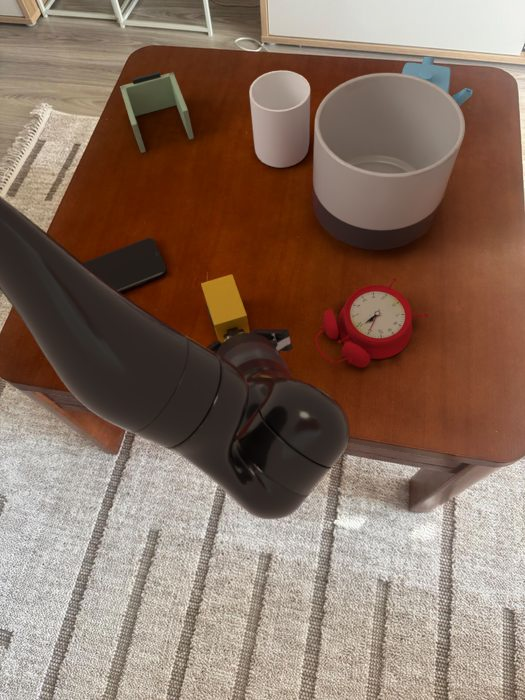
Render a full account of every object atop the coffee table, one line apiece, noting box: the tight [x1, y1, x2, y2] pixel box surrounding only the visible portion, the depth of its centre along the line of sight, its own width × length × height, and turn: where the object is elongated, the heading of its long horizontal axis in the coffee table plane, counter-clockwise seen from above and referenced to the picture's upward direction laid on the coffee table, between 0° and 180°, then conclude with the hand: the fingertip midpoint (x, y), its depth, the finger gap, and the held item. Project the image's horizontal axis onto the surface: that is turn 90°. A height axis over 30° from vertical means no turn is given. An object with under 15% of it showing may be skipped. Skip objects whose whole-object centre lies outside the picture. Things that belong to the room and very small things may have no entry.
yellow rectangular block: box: [200, 274, 251, 343], centre depth 74 cm, size 7×5×7 cm, turn 18°
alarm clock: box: [314, 277, 429, 368], centre depth 73 cm, size 10×6×15 cm
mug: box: [248, 70, 311, 169], centre depth 87 cm, size 10×12×12 cm
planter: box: [311, 72, 466, 251], centre depth 76 cm, size 19×19×18 cm
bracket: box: [119, 71, 195, 154], centre depth 93 cm, size 11×10×7 cm
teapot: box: [400, 56, 474, 107], centre depth 88 cm, size 18×14×10 cm
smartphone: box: [82, 237, 168, 294], centre depth 81 cm, size 8×1×16 cm
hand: (233, 335), depth 71 cm, fingers closed
